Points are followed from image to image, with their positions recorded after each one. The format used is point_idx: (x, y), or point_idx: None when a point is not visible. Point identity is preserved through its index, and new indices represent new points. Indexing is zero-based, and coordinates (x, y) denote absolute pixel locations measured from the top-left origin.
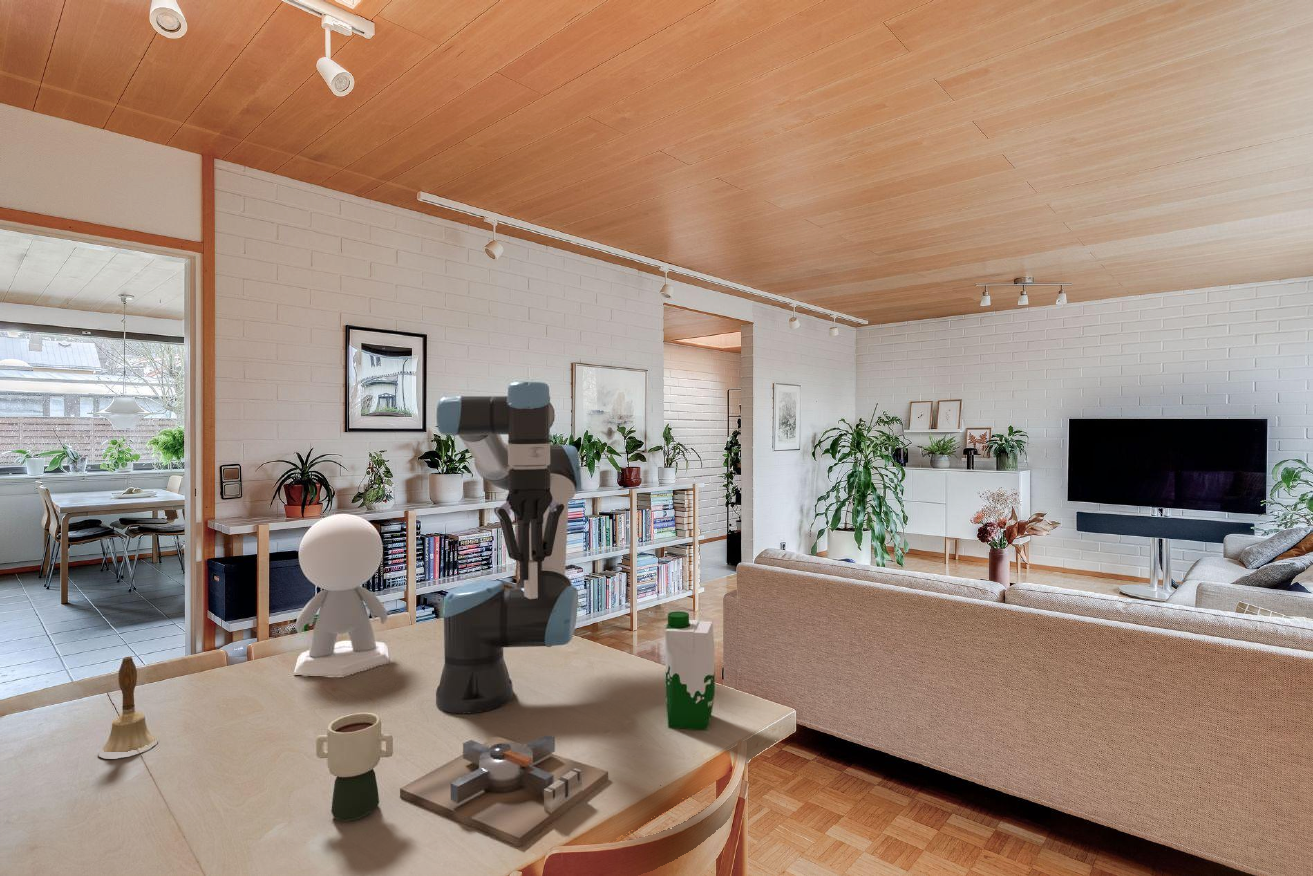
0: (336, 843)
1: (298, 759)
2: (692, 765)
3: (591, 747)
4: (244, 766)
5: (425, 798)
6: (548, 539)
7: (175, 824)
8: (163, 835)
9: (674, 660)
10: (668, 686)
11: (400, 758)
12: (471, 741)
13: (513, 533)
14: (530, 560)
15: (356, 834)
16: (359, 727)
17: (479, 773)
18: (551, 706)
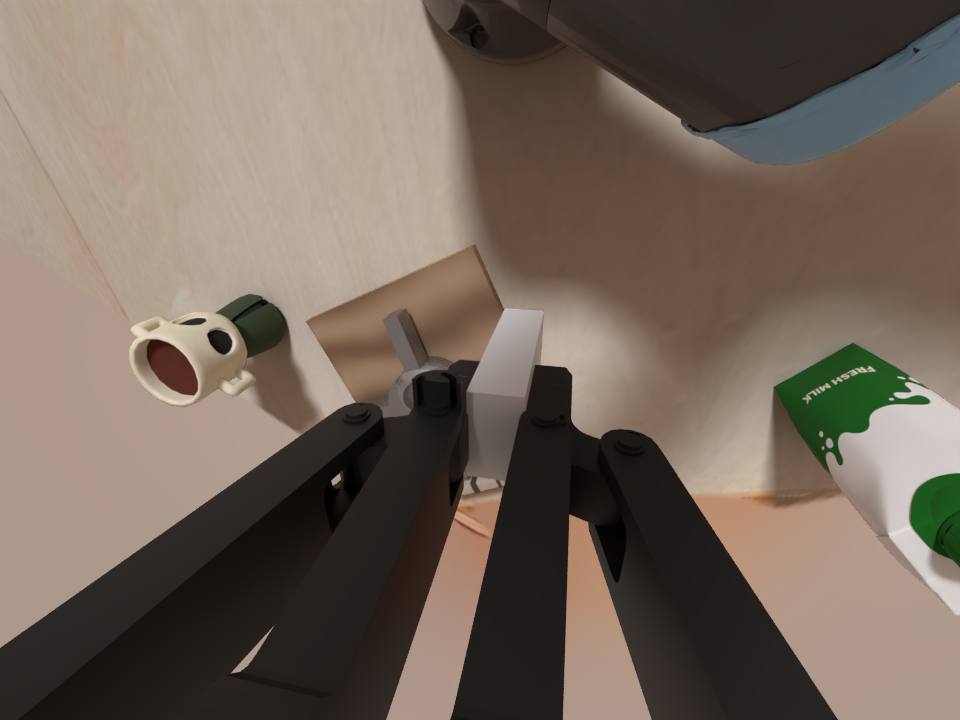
0: (248, 368)
1: (158, 85)
2: (690, 492)
3: (605, 360)
4: (80, 56)
5: (334, 365)
6: (623, 633)
7: (65, 210)
8: (64, 231)
9: (847, 495)
10: (818, 428)
11: (317, 196)
12: (395, 322)
13: (235, 656)
14: (508, 413)
15: (266, 365)
16: (182, 355)
17: (383, 417)
18: (658, 132)
